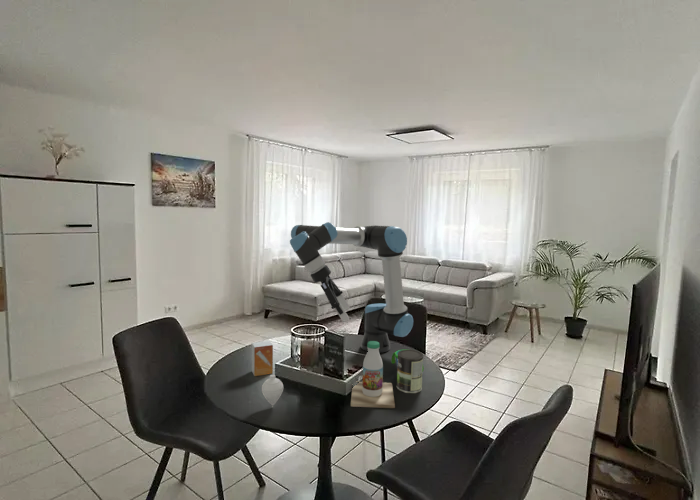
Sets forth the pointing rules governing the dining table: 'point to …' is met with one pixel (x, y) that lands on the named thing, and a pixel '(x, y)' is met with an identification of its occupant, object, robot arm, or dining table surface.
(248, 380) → the dining table surface
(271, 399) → the spinning top
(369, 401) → the ash board
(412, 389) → the coffee can
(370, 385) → the milk bottle
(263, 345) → the small box
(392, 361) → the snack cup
